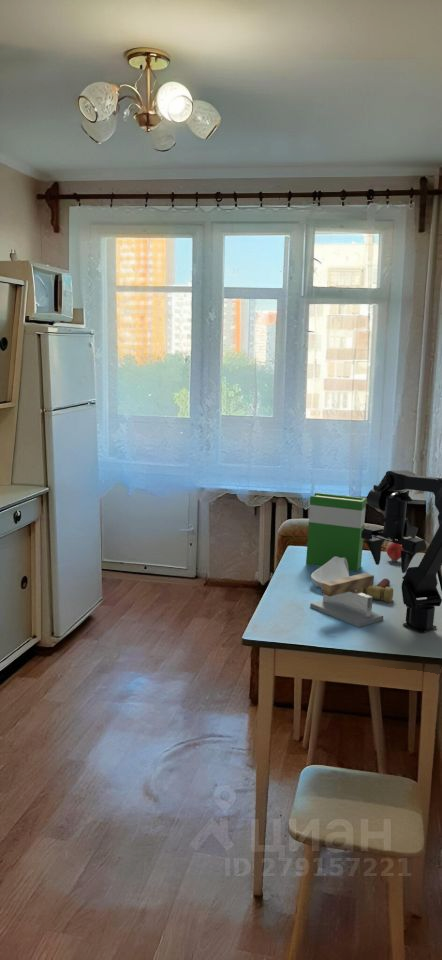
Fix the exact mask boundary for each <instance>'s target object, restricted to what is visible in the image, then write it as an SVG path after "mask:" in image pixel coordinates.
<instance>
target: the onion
mask: <svg viewBox="0 0 442 960" xmlns="http://www.w3.org/2000/svg"><path fill="white" fill-rule="evenodd" d="M401 550H404V549H403V548H402V545H400V544H397V543H393V542H390V544H389V545H388V546H387V548H386V554H387V557H388V558H389V559H391V561H392V562H394V561H395V562H397V561H398V560H399V559H400V560H401Z"/></svg>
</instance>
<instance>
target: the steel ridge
mask: <svg viewBox="0 0 442 960" xmlns="http://www.w3.org/2000/svg"><path fill="white" fill-rule="evenodd" d="M327 582H328V581H327ZM322 600H323V602H325V603H327V604H330V605H333V606H335V607H338V608H340V609H343V610H345V611H348V612H350V613H353V614H355V615H358V616H360V617H363V618H366V619H367V618H371V612H373V611H372V610H373V600H374V599H373V597H372V596H369V595H366V594H363V593H361V592H358V591H357V590H354V591H350V592H346V593H342V594H338V595H334V596H327V595H324V594H322Z"/></svg>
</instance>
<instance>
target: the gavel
mask: <svg viewBox="0 0 442 960" xmlns="http://www.w3.org/2000/svg"><path fill="white" fill-rule="evenodd" d="M390 583H391V581H390V579H388V578H387V577H386V578H383V579H381V581H379V582H378V583H377V584H376V585H373V586H370V587H366V588H362V589H358V590H356V591H358V592H361V593H363V594H366V595H369V596H372V597H373V600H376V601H383V603H387V604H391V603H392V601H393V598H394V589H393V587H389V586H390Z"/></svg>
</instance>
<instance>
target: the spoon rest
mask: <svg viewBox="0 0 442 960" xmlns="http://www.w3.org/2000/svg"><path fill="white" fill-rule="evenodd" d="M349 576H350V571H349V569H348V563H347V560H346V558H339V557H337V556H335V557H333V558H332V559H331V560H330V561H328V562H327V563H326V564H324V565H323V566H319V567H318V568H317V569H316V570H314V571H313V572H312V573H311V575H310V578H311V581H312V582H313V584H314V585H315V586H316V587H318V588H320V589H322V583H323V582H327V581H332V580H336V579H341V578H345V577H349Z"/></svg>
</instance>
